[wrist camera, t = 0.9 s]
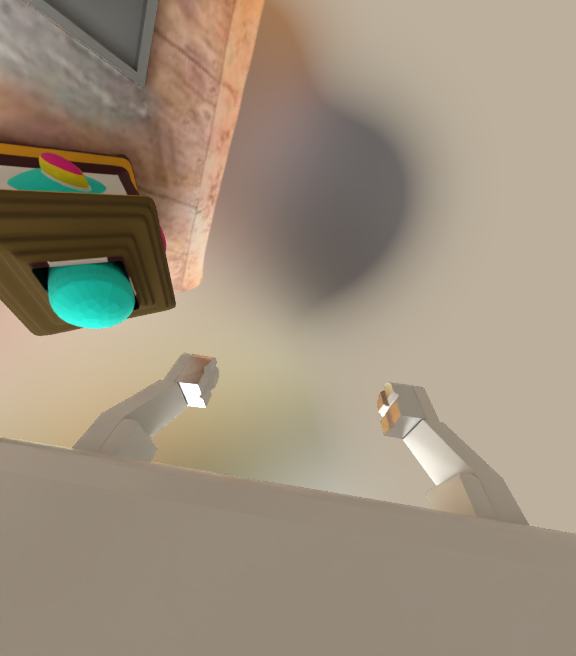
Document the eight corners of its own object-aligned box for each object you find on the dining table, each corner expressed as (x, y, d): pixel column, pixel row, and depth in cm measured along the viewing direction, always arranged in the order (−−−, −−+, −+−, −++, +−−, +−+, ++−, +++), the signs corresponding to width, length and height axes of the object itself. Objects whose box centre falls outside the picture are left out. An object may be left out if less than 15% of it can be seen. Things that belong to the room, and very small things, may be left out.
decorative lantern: (34, 267, 38) (18, 409, 23) (-74, 113, 24) (-294, 213, 9) (159, 256, 48) (205, 348, 33) (133, 145, 35) (192, 215, 19)
